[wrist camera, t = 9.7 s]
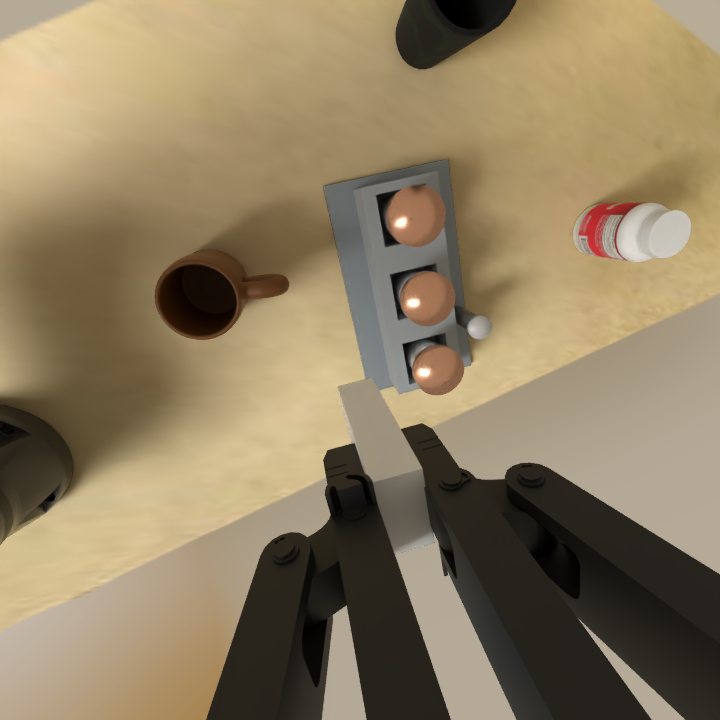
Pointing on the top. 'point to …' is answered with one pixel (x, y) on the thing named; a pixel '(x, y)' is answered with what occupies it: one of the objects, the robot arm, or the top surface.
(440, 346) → the knob
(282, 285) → the mug
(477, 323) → the pot post
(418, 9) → the cup
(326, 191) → the mount
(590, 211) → the pill bottle
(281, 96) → the top surface
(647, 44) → the top surface
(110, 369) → the top surface
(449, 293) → the knob mid
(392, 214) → the knob
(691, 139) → the top surface
